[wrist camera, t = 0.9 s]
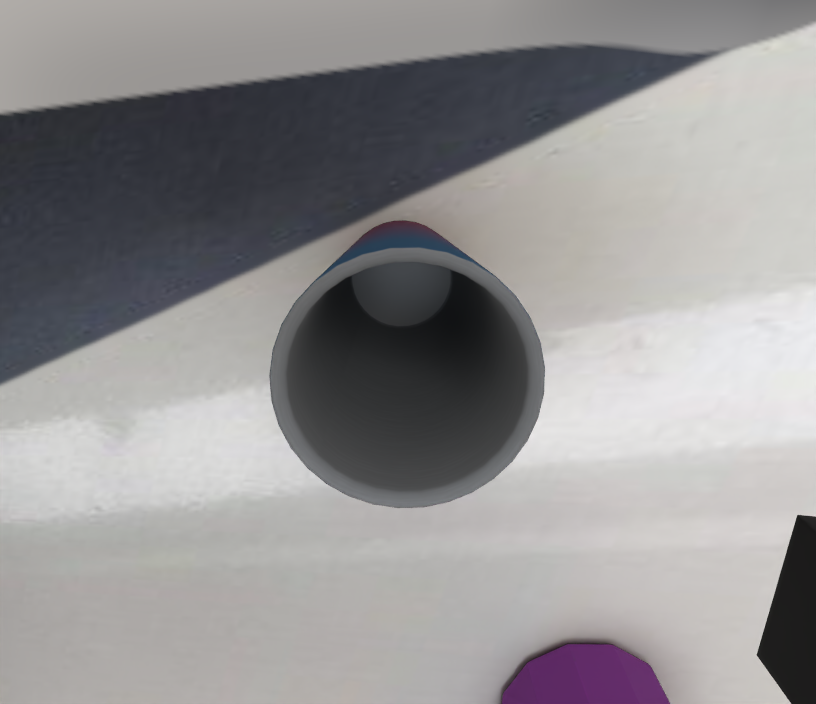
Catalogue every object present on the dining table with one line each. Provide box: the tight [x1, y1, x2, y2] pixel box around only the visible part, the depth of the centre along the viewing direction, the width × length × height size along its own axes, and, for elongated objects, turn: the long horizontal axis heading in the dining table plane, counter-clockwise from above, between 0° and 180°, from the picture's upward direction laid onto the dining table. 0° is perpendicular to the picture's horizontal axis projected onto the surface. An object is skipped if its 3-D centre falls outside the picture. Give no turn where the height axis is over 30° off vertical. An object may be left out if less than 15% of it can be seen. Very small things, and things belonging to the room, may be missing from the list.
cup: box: [270, 221, 545, 508], centre depth 25 cm, size 7×7×15 cm
